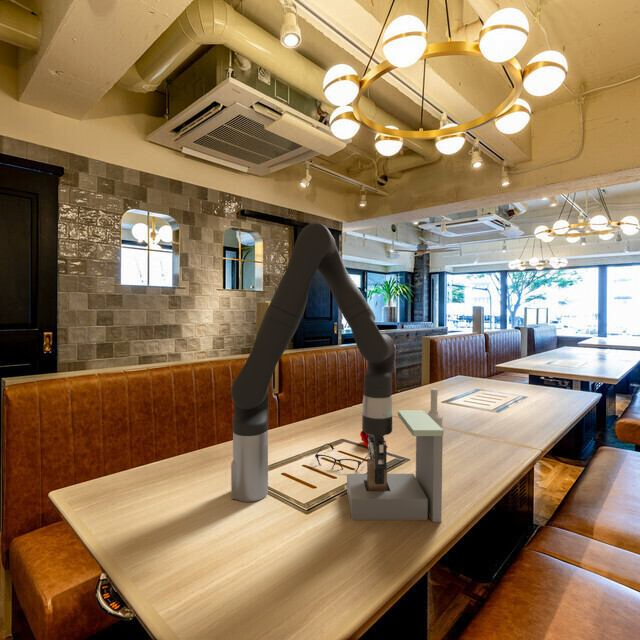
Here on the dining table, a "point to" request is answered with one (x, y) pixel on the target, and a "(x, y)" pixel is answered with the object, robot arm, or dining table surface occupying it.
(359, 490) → the socket
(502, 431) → the dining table surface
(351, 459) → the eyeglasses
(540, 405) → the dining table surface
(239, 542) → the dining table surface
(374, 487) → the peg
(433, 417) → the bottle
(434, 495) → the panel
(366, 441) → the flower
